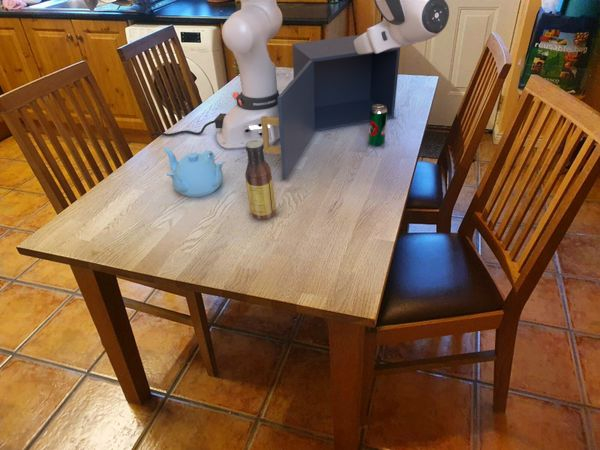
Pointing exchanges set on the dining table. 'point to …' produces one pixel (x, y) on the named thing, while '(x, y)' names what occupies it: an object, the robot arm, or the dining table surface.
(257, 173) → the sauce bottle
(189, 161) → the teapot
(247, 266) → the dining table surface
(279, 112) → the cupboard door
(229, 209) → the dining table surface
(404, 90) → the dining table surface
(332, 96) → the cupboard
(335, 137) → the dining table surface
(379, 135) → the soda can
